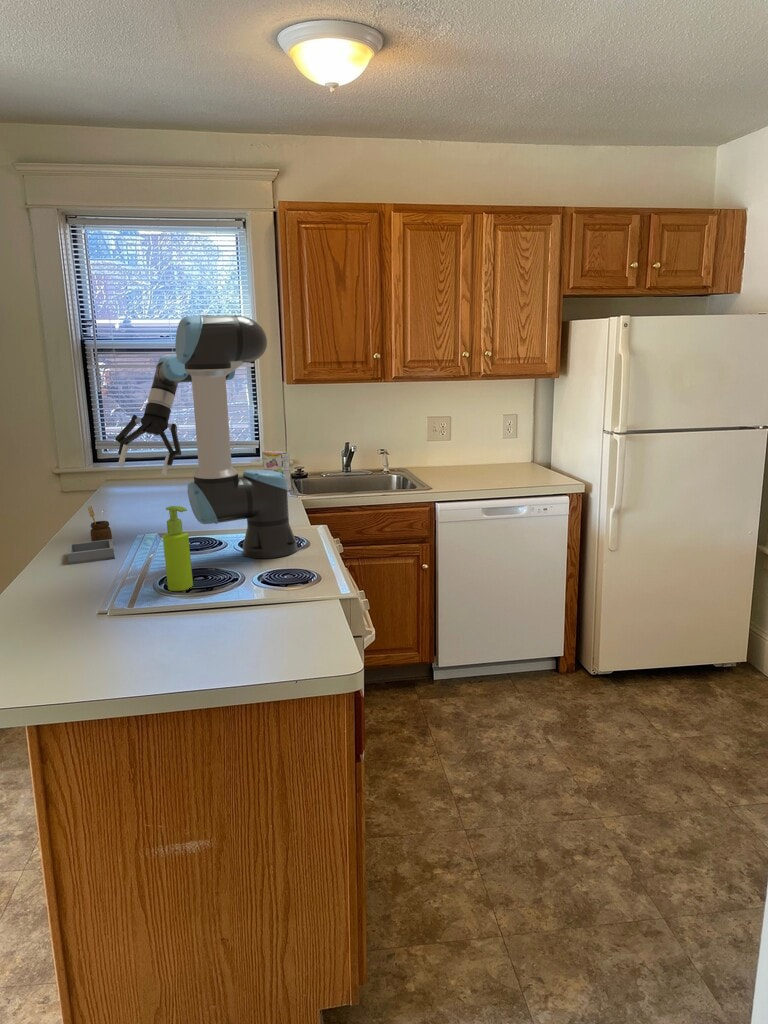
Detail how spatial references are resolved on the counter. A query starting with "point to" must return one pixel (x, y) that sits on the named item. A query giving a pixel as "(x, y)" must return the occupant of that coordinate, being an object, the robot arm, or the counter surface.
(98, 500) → the counter surface
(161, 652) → the counter surface
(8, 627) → the counter surface
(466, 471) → the counter surface
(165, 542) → the soap dispenser
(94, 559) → the tray
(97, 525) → the utensil holder
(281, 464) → the candy bar box
